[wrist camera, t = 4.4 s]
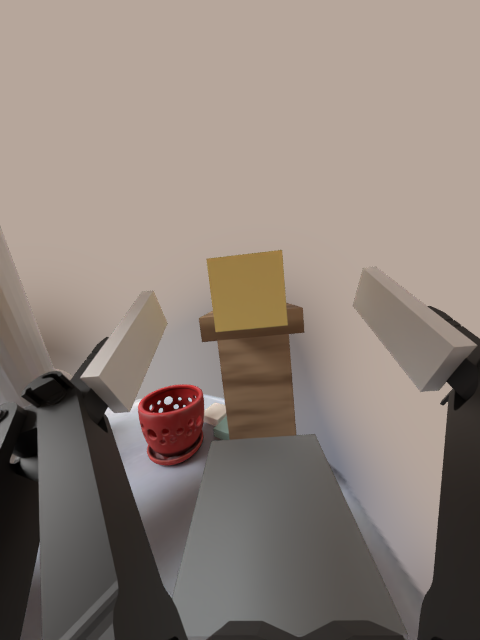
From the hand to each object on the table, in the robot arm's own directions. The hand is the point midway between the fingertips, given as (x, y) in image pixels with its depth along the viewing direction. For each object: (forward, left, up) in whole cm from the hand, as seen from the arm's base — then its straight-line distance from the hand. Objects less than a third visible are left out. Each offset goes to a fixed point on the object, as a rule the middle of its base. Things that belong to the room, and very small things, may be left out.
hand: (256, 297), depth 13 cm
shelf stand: (-8, +12, -32) cm, 35 cm away
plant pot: (-30, +14, -32) cm, 46 cm away
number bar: (-5, +7, -2) cm, 9 cm away
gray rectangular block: (0, -1, -32) cm, 32 cm away
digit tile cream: (-29, +26, -32) cm, 50 cm away
